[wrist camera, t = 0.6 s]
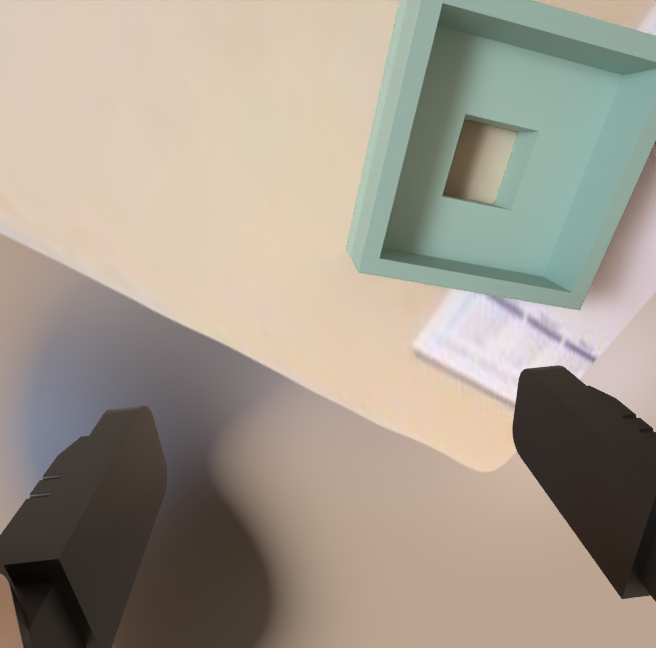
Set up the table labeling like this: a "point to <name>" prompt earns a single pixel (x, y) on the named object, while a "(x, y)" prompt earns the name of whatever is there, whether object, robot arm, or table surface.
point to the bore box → (527, 155)
